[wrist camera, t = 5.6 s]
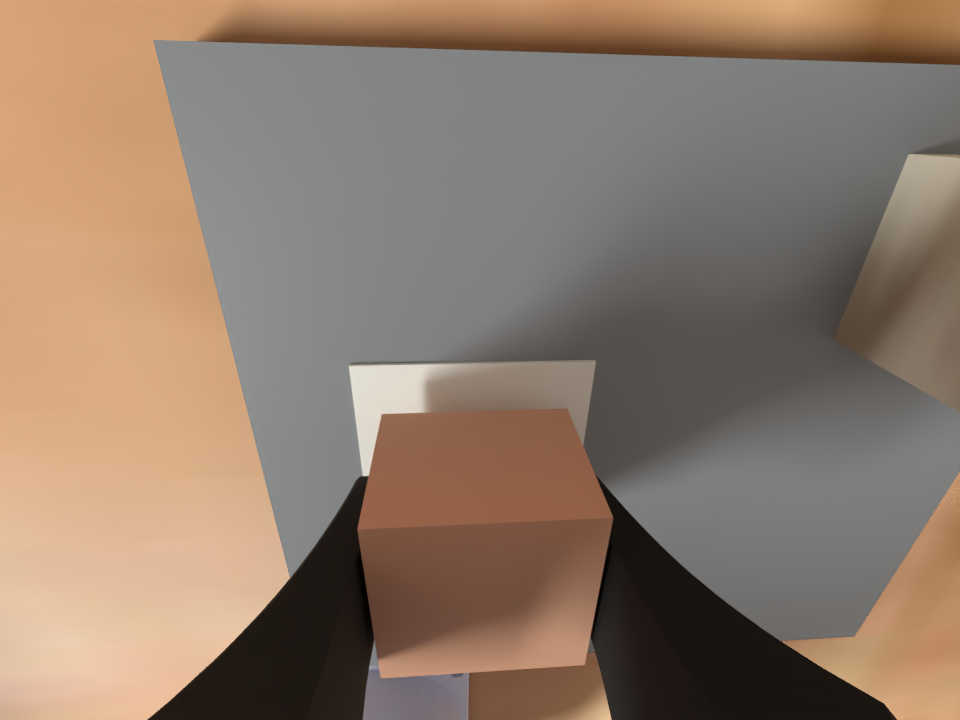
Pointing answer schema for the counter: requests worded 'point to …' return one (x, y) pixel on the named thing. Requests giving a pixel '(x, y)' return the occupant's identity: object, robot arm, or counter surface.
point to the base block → (481, 542)
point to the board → (581, 286)
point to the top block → (913, 282)
